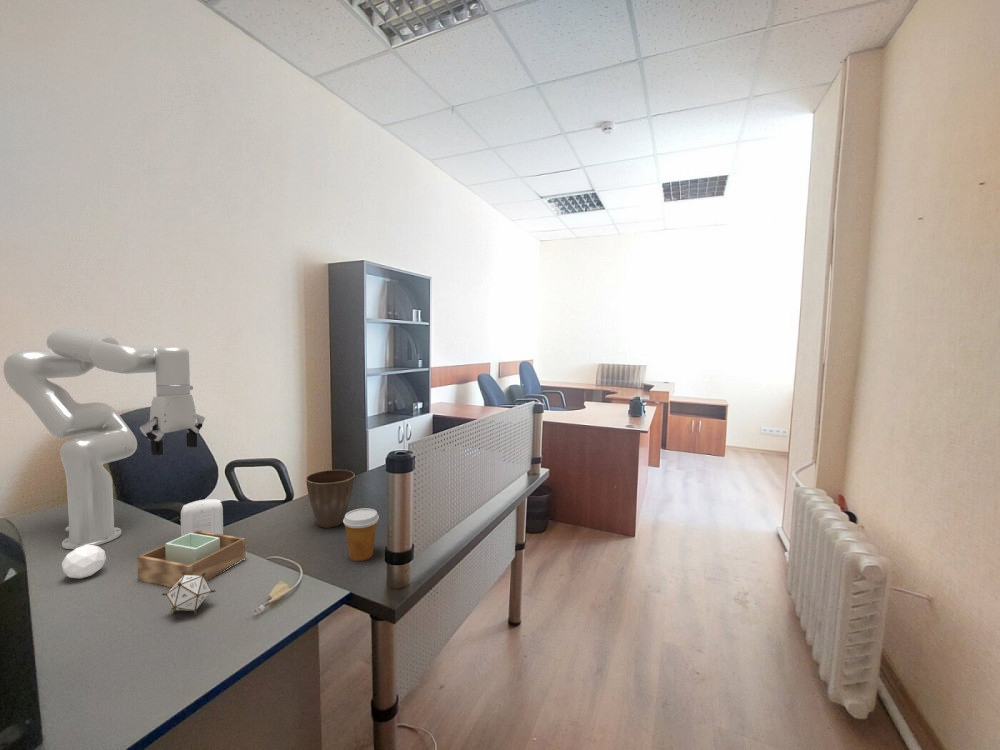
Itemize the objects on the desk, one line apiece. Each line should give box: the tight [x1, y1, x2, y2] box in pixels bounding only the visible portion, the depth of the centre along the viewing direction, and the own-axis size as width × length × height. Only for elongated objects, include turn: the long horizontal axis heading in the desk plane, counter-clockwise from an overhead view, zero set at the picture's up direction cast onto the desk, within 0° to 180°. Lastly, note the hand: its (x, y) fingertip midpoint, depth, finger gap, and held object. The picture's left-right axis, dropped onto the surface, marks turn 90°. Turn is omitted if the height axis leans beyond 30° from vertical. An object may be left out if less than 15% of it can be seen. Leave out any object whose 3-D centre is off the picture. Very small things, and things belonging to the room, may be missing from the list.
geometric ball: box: [61, 544, 107, 580], centre depth 104 cm, size 8×8×8 cm
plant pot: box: [305, 469, 356, 529], centre depth 137 cm, size 15×15×16 cm
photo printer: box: [180, 498, 224, 537], centre depth 123 cm, size 10×4×12 cm, turn 123°
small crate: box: [164, 533, 220, 565], centre depth 108 cm, size 10×7×7 cm, turn 75°
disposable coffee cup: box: [342, 507, 380, 562], centre depth 116 cm, size 10×10×12 cm
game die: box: [161, 571, 217, 615], centre depth 91 cm, size 9×8×10 cm
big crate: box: [136, 531, 246, 588], centre depth 108 cm, size 17×16×6 cm
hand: (175, 450), depth 118 cm, fingers open, 9 cm apart
